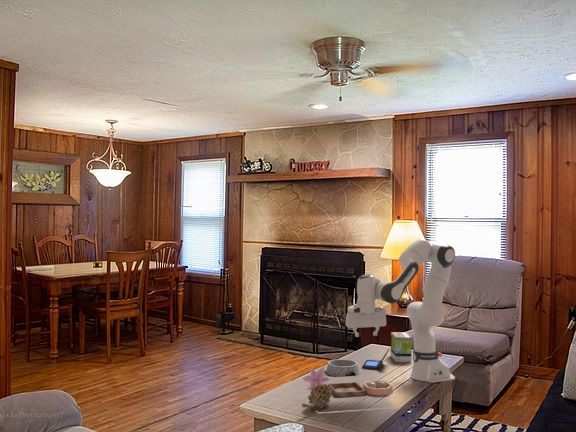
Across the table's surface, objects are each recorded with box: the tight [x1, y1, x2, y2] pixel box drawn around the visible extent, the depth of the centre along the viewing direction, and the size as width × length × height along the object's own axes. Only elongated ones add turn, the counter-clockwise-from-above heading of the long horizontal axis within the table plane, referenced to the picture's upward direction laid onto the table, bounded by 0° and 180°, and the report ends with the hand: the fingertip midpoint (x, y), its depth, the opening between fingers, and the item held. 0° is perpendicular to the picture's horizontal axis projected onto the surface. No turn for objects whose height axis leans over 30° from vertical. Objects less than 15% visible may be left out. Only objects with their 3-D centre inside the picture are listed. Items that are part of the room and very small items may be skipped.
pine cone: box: [300, 383, 333, 410], centre depth 228 cm, size 22×10×10 cm, turn 153°
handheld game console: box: [361, 348, 390, 371], centre depth 297 cm, size 16×13×9 cm
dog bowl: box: [325, 358, 360, 378], centre depth 286 cm, size 17×18×5 cm
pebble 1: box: [366, 381, 376, 388], centre depth 251 cm, size 4×4×4 cm
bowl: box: [362, 379, 394, 397], centre depth 251 cm, size 13×13×4 cm
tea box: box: [390, 331, 413, 363], centre depth 313 cm, size 15×10×15 cm
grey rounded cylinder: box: [378, 380, 387, 388], centre depth 252 cm, size 4×4×4 cm
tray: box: [327, 381, 367, 398], centre depth 250 cm, size 15×14×3 cm
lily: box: [302, 366, 330, 390], centre depth 258 cm, size 12×12×10 cm
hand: (366, 336), depth 256 cm, fingers open, 8 cm apart
